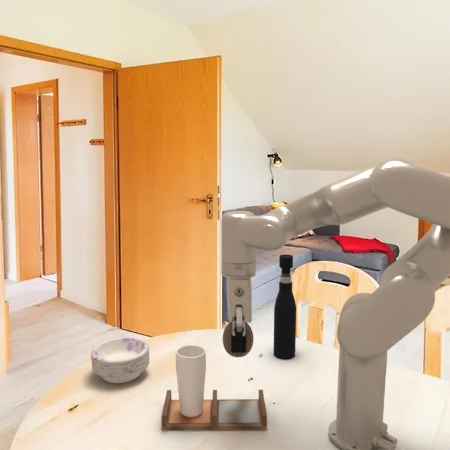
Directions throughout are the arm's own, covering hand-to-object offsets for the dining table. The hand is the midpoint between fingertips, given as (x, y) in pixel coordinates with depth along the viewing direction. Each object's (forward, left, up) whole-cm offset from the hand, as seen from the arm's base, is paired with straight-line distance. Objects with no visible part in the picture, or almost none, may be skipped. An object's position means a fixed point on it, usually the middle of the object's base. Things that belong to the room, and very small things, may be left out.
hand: (238, 344), depth 109 cm
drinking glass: (+6, +9, -17) cm, 20 cm away
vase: (0, 0, -2) cm, 2 cm away
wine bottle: (+17, -31, -18) cm, 39 cm away
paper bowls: (+34, +13, -18) cm, 41 cm away
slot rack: (+3, +4, -18) cm, 18 cm away
